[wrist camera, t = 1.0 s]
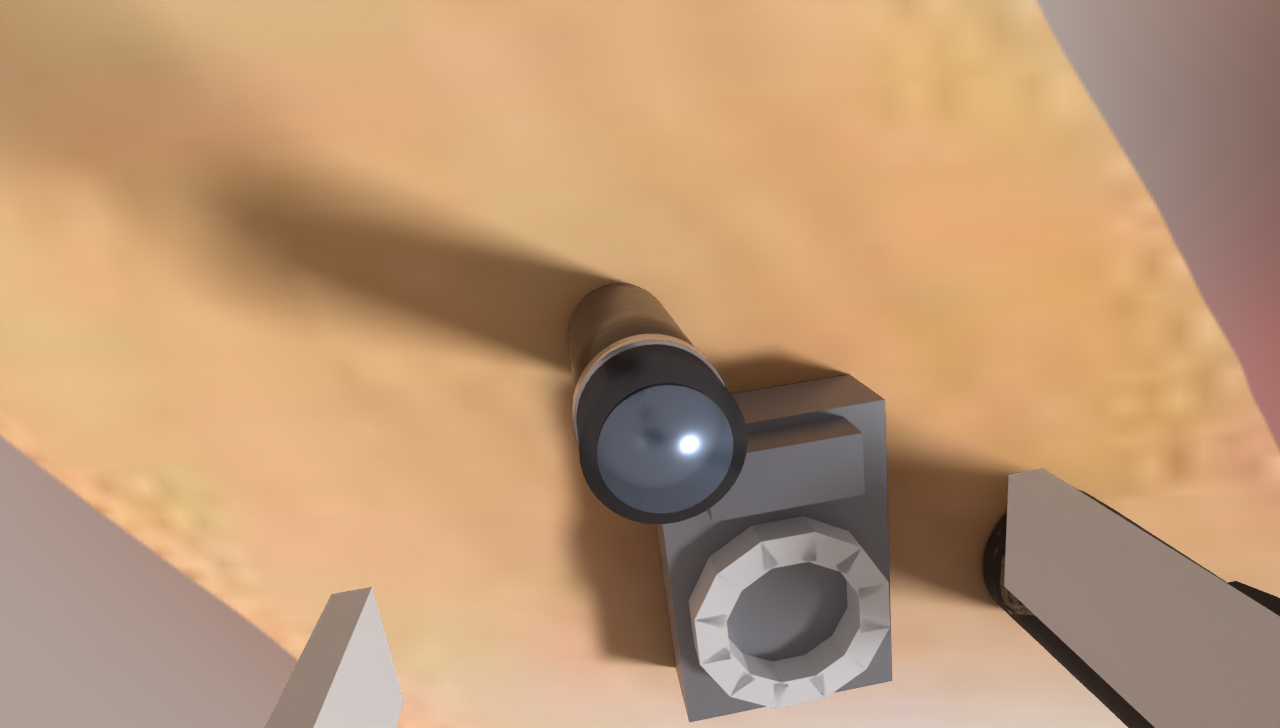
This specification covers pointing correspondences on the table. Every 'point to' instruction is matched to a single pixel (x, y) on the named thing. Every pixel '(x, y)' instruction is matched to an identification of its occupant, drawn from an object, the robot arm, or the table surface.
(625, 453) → the lens
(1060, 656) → the container
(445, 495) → the table surface
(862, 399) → the camera body
